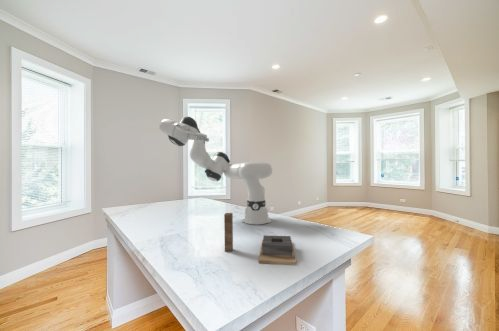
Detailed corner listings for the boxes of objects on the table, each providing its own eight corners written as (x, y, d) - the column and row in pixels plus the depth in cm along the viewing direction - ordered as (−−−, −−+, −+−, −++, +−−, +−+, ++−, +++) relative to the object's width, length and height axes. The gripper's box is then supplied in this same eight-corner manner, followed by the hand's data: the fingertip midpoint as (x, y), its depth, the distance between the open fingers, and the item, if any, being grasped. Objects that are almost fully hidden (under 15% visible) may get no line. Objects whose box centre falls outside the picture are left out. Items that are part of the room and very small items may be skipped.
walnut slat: (226, 248, 103) (225, 212, 103) (232, 249, 103) (232, 213, 102) (224, 251, 100) (224, 214, 100) (231, 251, 100) (231, 214, 99)
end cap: (262, 241, 112) (262, 231, 112) (291, 242, 110) (291, 232, 110) (258, 263, 88) (258, 250, 88) (296, 264, 86) (296, 251, 86)
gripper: (194, 139, 136) (212, 146, 131) (168, 136, 118) (188, 144, 112) (197, 128, 135) (215, 135, 130) (171, 124, 117) (191, 131, 111)
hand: (202, 139), depth 121 cm, fingers open, 8 cm apart
